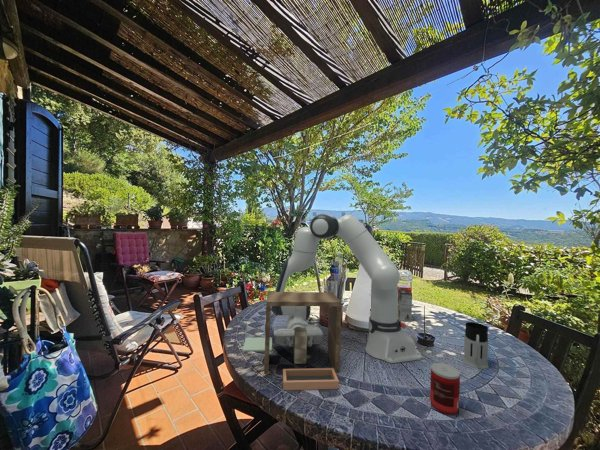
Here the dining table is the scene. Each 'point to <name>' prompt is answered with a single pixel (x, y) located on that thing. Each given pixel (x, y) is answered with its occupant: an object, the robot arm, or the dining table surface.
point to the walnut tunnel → (308, 300)
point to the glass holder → (476, 345)
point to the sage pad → (256, 344)
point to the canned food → (445, 388)
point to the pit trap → (310, 379)
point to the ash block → (300, 345)
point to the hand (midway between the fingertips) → (300, 344)
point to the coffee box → (405, 305)
